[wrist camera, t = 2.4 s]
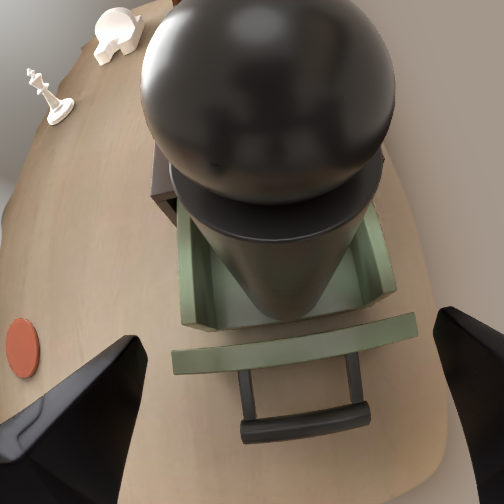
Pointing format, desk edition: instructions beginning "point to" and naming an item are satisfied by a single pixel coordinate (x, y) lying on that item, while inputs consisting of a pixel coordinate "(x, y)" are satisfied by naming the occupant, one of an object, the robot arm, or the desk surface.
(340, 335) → the drawer
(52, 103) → the chess piece
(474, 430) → the robot arm
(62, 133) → the desk surface
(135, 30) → the slotted bracket
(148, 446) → the desk surface
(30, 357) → the coaster
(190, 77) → the pepper mill
